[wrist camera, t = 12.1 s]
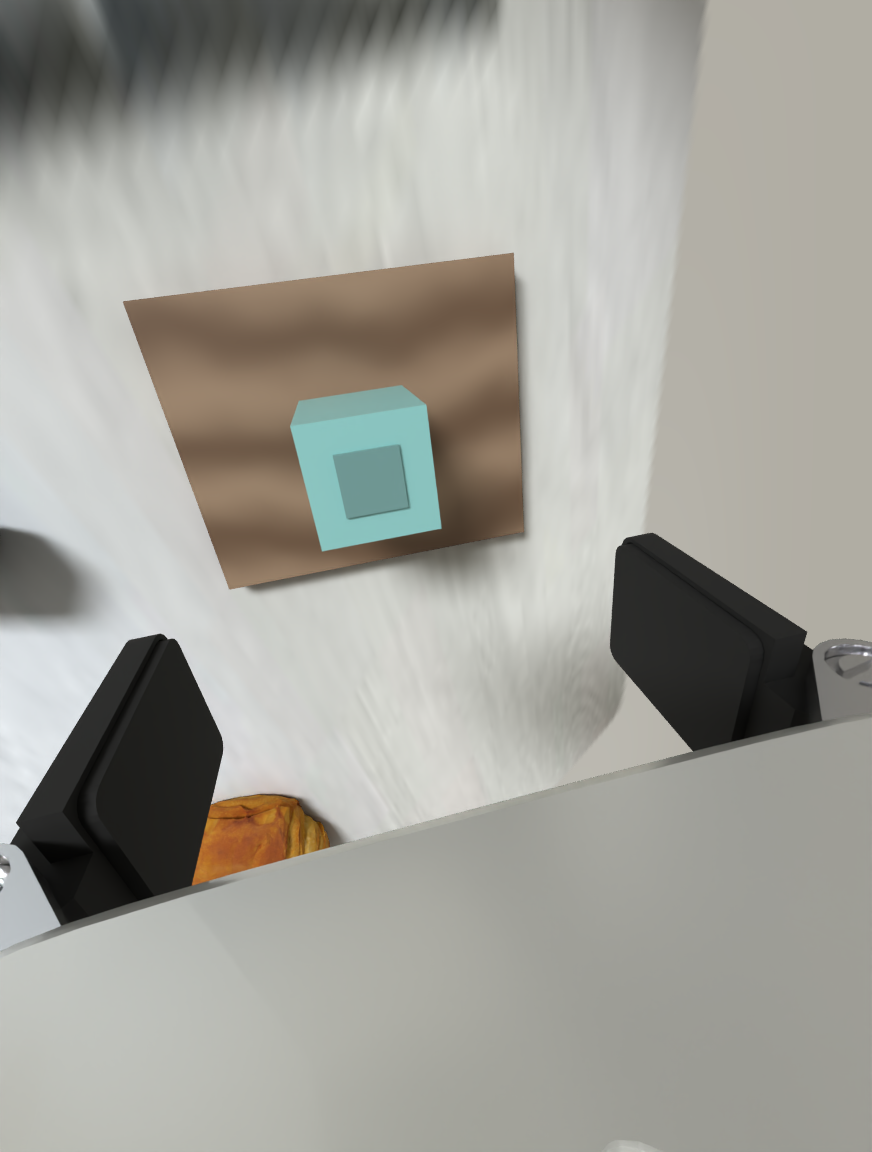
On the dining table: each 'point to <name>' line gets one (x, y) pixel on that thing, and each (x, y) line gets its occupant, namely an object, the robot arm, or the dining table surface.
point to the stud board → (333, 367)
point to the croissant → (255, 835)
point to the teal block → (367, 465)
